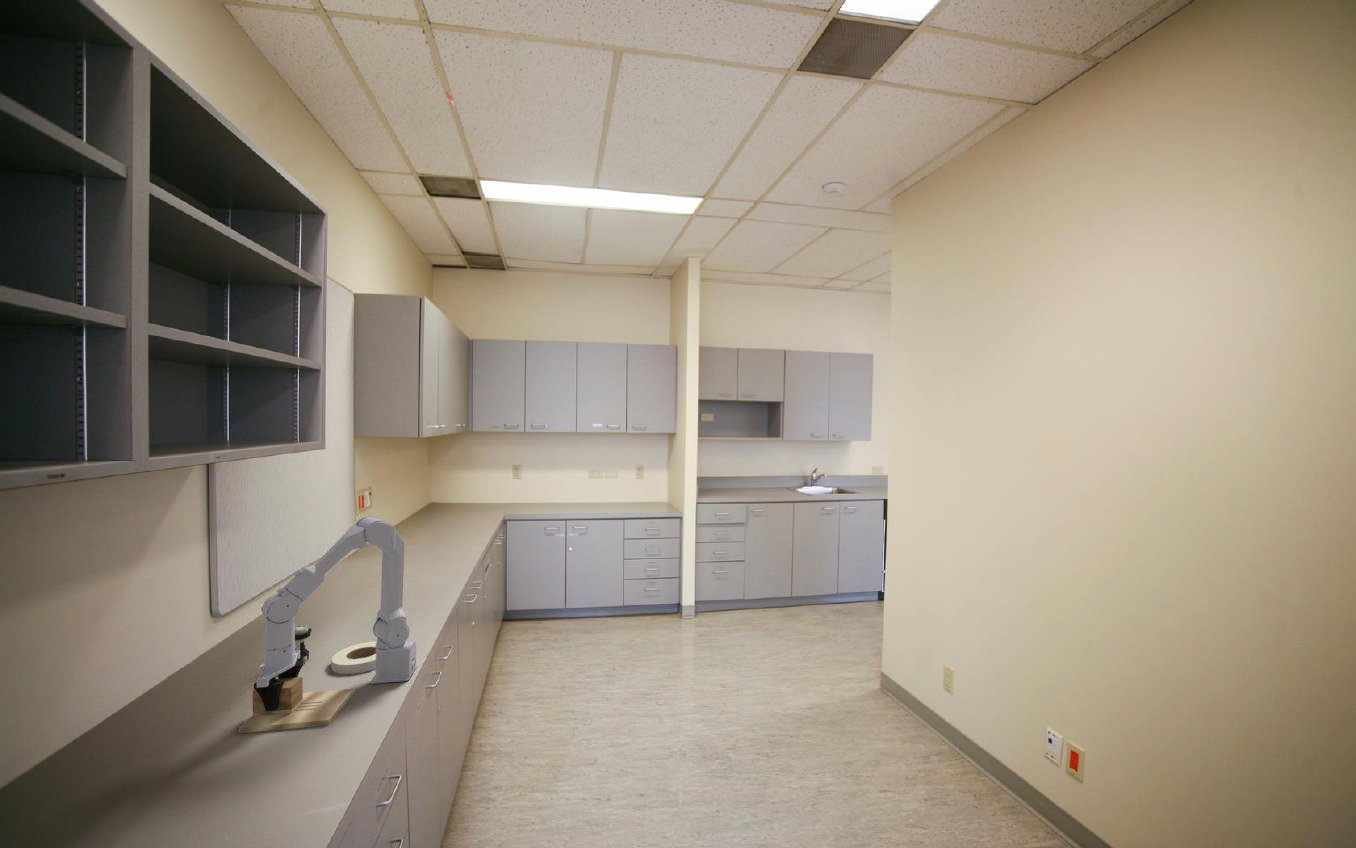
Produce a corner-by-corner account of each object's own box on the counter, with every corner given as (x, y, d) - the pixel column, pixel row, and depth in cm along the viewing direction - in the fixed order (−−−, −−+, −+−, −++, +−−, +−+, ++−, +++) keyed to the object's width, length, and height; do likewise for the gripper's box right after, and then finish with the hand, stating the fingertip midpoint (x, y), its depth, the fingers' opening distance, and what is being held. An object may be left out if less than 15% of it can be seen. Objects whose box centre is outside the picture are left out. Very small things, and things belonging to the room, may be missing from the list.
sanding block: (302, 701, 127) (302, 677, 127) (291, 713, 122) (291, 687, 122) (265, 705, 125) (265, 680, 125) (252, 716, 120) (252, 690, 120)
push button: (303, 668, 146) (303, 633, 146) (282, 670, 144) (282, 634, 144) (315, 658, 152) (315, 624, 152) (294, 659, 151) (294, 625, 151)
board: (354, 693, 133) (354, 688, 133) (328, 725, 119) (328, 719, 119) (274, 700, 129) (274, 695, 129) (239, 733, 116) (239, 728, 116)
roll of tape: (318, 668, 147) (318, 657, 147) (370, 646, 161) (370, 637, 161) (354, 680, 140) (354, 669, 140) (405, 656, 154) (405, 647, 154)
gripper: (277, 634, 130) (277, 688, 130) (241, 660, 115) (240, 721, 116) (309, 632, 131) (309, 686, 131) (276, 658, 117) (276, 718, 117)
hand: (279, 702), depth 123 cm, fingers open, 6 cm apart
